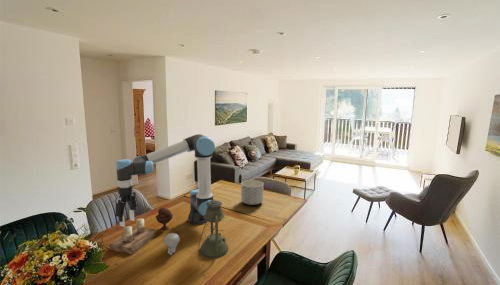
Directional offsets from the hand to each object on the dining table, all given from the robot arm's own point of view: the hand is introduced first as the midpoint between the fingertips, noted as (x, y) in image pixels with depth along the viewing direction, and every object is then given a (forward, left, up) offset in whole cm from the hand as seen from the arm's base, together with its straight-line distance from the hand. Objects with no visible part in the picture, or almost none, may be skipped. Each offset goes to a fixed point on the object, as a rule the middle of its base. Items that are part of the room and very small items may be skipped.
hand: (127, 223), depth 150 cm
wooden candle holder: (0, -5, -15) cm, 16 cm away
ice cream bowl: (-8, -25, -15) cm, 30 cm away
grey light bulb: (-29, -1, -15) cm, 33 cm away
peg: (0, 0, -15) cm, 15 cm away
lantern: (-50, -12, -15) cm, 54 cm away
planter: (-54, -86, -15) cm, 103 cm away
